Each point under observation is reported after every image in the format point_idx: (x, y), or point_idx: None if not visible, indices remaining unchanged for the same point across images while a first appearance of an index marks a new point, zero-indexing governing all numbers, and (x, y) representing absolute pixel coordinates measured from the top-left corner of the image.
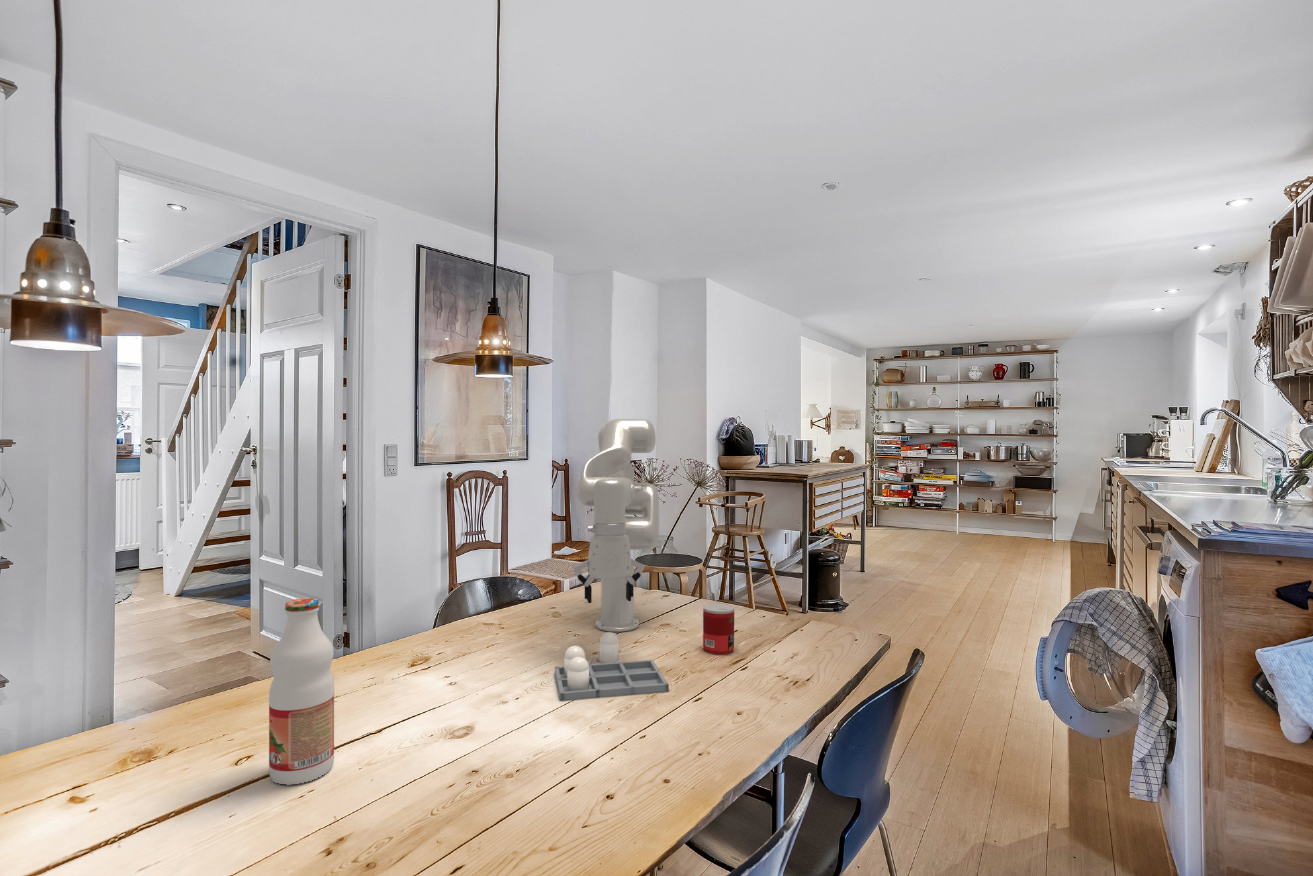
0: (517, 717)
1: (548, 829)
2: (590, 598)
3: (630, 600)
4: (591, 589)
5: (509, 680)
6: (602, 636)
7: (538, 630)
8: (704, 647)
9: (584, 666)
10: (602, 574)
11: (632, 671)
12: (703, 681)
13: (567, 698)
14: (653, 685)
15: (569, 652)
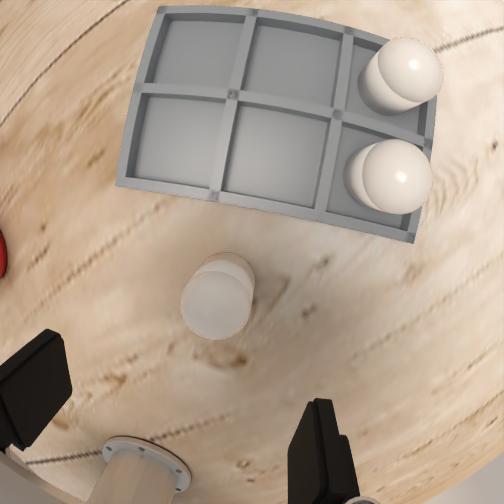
0: (495, 64)
1: None
2: (322, 418)
3: (49, 330)
4: (319, 474)
5: (486, 255)
6: (239, 314)
7: None
8: (2, 254)
9: (400, 37)
10: None
11: (190, 162)
12: (67, 71)
13: None
14: (196, 6)
15: (428, 161)
